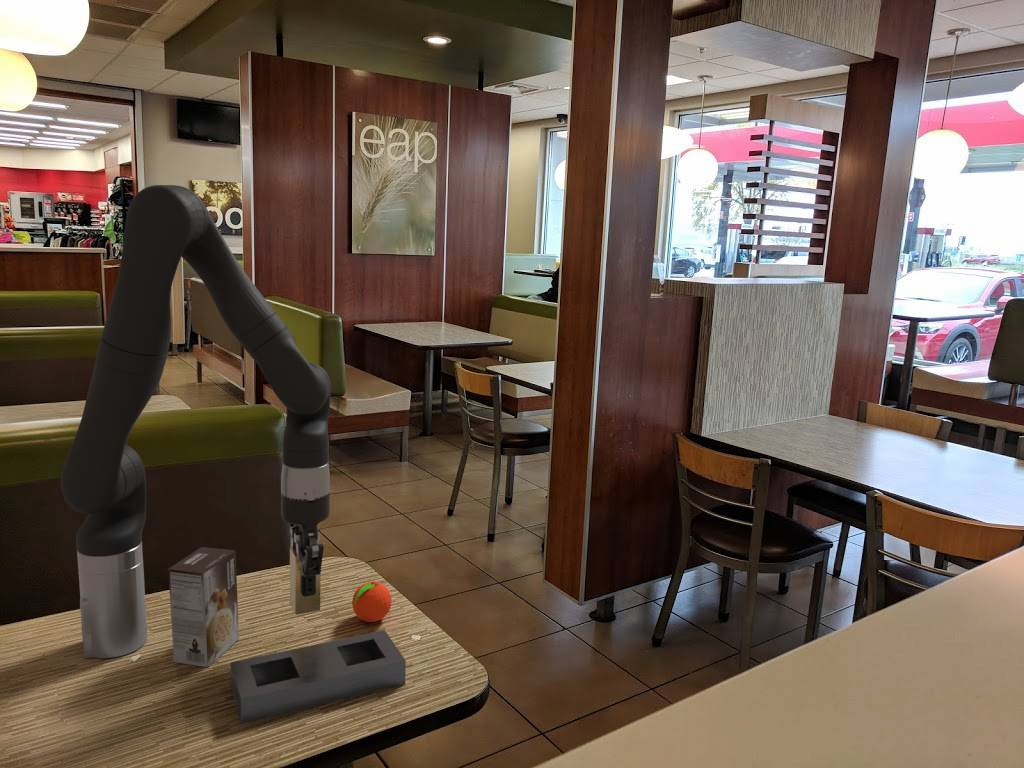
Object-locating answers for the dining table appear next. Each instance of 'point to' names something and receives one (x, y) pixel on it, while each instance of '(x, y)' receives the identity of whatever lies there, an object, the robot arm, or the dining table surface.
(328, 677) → the rail
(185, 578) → the coffee box
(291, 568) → the peg
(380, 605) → the clementine
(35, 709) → the dining table surface
